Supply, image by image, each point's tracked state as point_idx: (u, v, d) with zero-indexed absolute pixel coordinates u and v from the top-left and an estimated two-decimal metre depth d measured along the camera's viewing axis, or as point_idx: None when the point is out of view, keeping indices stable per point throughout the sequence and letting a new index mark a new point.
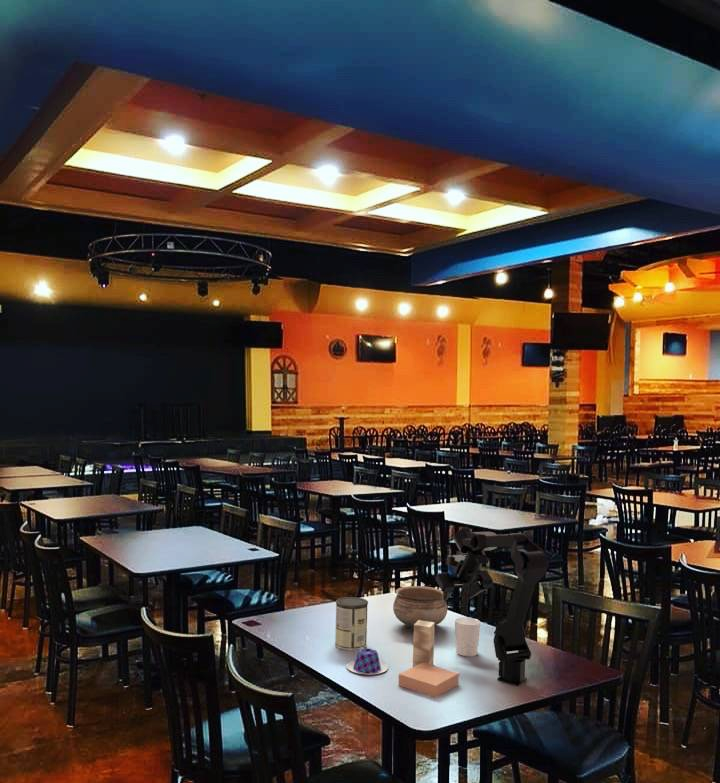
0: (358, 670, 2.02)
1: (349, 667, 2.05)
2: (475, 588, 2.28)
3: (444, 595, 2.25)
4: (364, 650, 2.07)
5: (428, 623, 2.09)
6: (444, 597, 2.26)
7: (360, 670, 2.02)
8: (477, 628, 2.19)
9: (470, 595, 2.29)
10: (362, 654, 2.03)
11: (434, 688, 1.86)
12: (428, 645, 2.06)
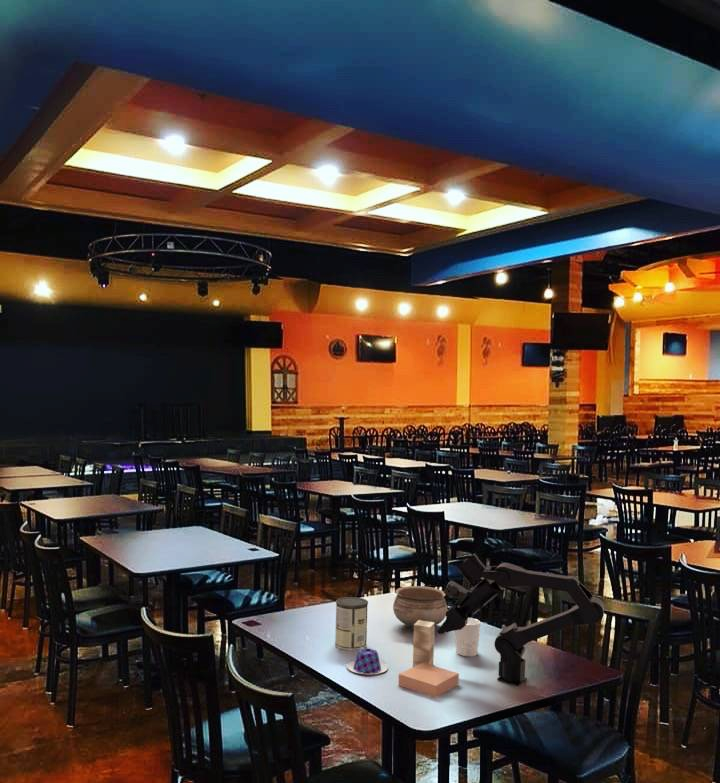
0: (358, 670, 2.02)
1: (349, 667, 2.05)
2: None
3: (443, 629, 2.02)
4: (364, 650, 2.07)
5: (428, 623, 2.09)
6: (441, 631, 2.02)
7: (360, 670, 2.02)
8: (477, 628, 2.19)
9: None
10: (362, 654, 2.03)
11: (434, 688, 1.86)
12: (428, 645, 2.06)
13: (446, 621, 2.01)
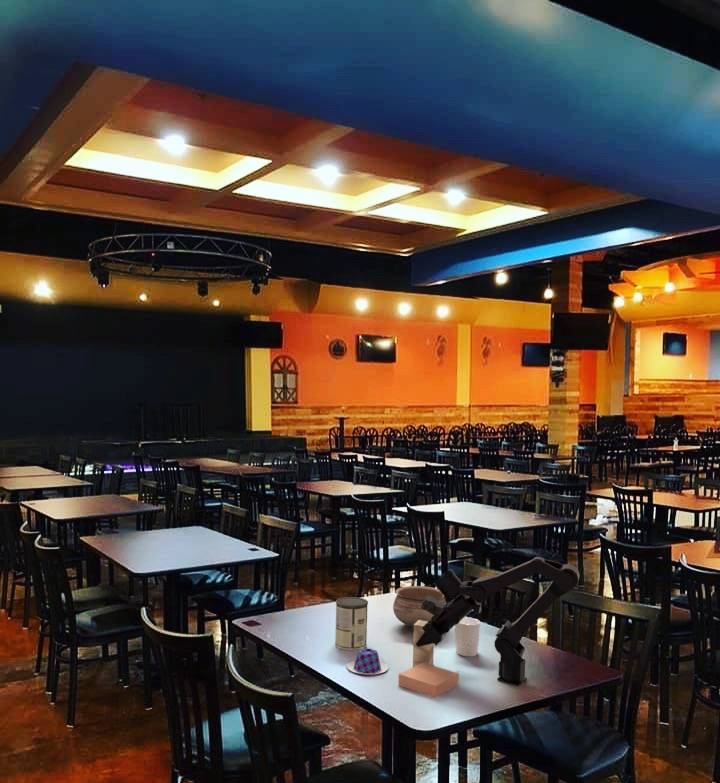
0: (358, 670, 2.03)
1: (349, 667, 2.05)
2: None
3: (422, 642, 2.06)
4: (365, 650, 2.07)
5: None
6: (420, 643, 2.06)
7: (360, 670, 2.02)
8: (477, 628, 2.19)
9: None
10: (362, 654, 2.03)
11: (434, 688, 1.86)
12: (428, 645, 2.06)
13: (424, 634, 2.05)
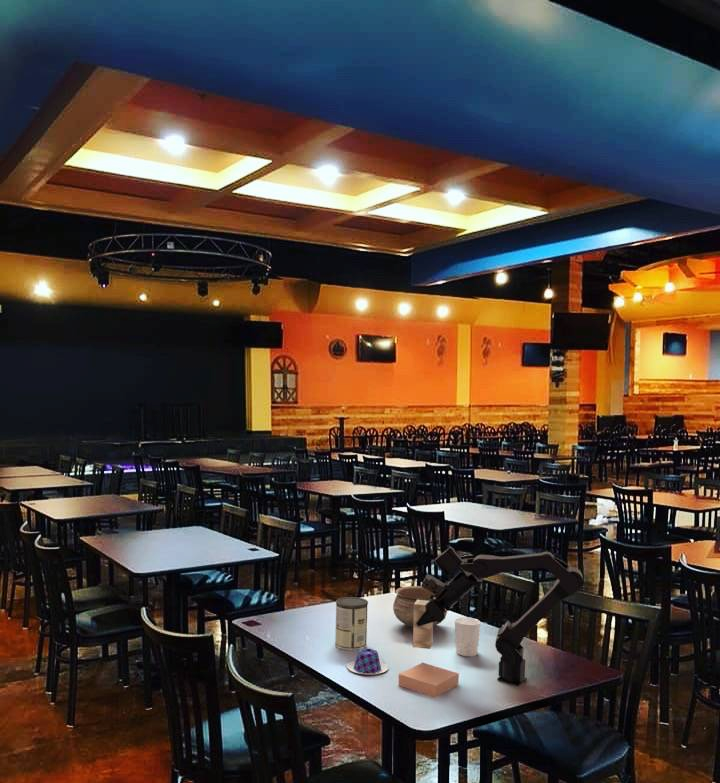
0: (357, 670, 2.03)
1: (349, 667, 2.05)
2: None
3: (423, 621, 2.03)
4: (365, 650, 2.07)
5: None
6: (421, 622, 2.03)
7: (359, 670, 2.02)
8: (477, 628, 2.19)
9: None
10: (362, 654, 2.03)
11: (434, 688, 1.86)
12: (429, 624, 2.04)
13: (426, 613, 2.02)
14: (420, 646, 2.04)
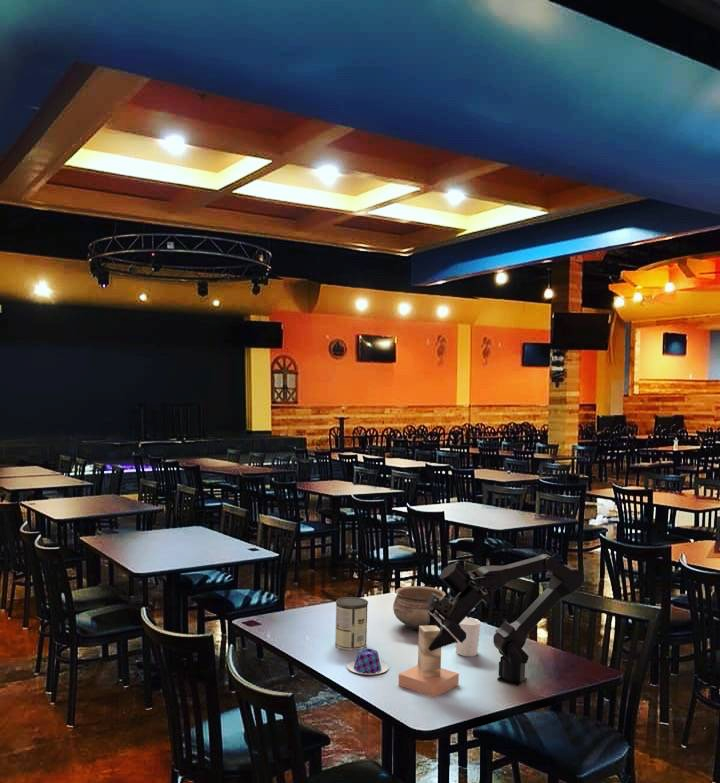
0: (357, 670, 2.03)
1: (349, 666, 2.05)
2: None
3: (437, 644, 1.90)
4: (365, 650, 2.07)
5: (433, 627, 1.96)
6: (434, 647, 1.90)
7: (359, 670, 2.02)
8: (477, 628, 2.19)
9: None
10: (362, 654, 2.03)
11: (434, 688, 1.86)
12: (439, 650, 1.93)
13: (441, 636, 1.90)
14: (430, 675, 1.92)
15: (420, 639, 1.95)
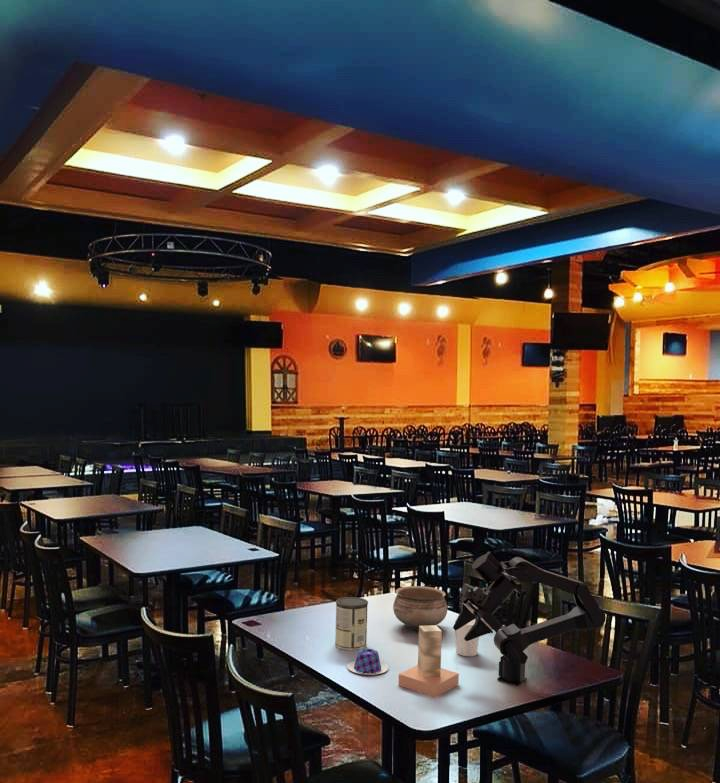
0: (357, 669, 2.03)
1: (350, 666, 2.06)
2: (467, 617, 2.03)
3: (472, 635, 1.92)
4: (366, 650, 2.07)
5: (433, 627, 1.96)
6: (470, 637, 1.92)
7: (359, 670, 2.02)
8: None
9: (459, 626, 2.02)
10: (361, 654, 2.04)
11: (434, 688, 1.86)
12: (439, 650, 1.93)
13: (476, 626, 1.92)
14: (430, 675, 1.92)
15: (420, 639, 1.95)
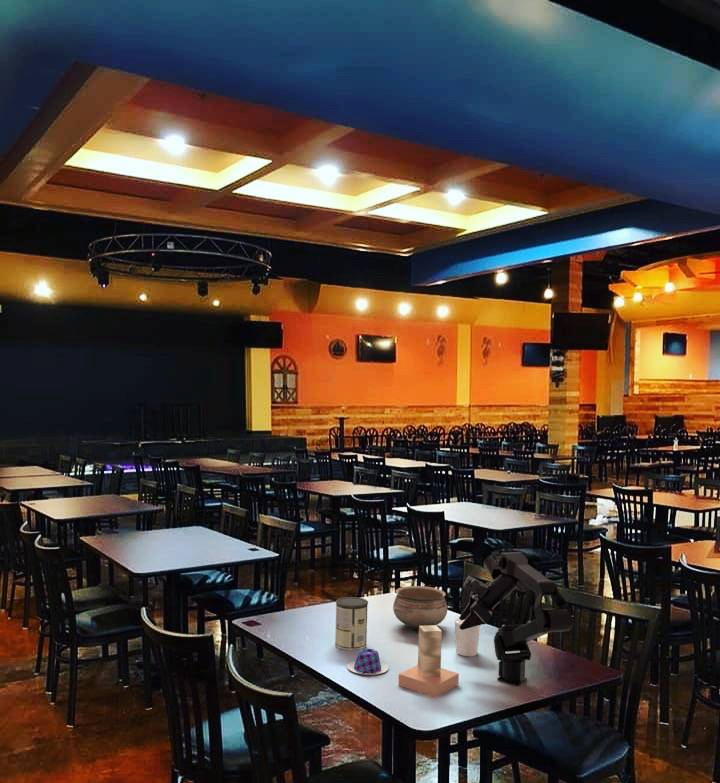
0: (357, 669, 2.03)
1: (350, 666, 2.06)
2: None
3: (466, 624, 2.01)
4: (366, 650, 2.07)
5: (433, 627, 1.96)
6: (464, 626, 2.01)
7: (359, 670, 2.02)
8: (477, 628, 2.19)
9: (465, 617, 2.11)
10: (361, 654, 2.04)
11: (434, 688, 1.86)
12: (439, 650, 1.93)
13: (470, 616, 2.00)
14: (430, 675, 1.92)
15: (420, 639, 1.95)
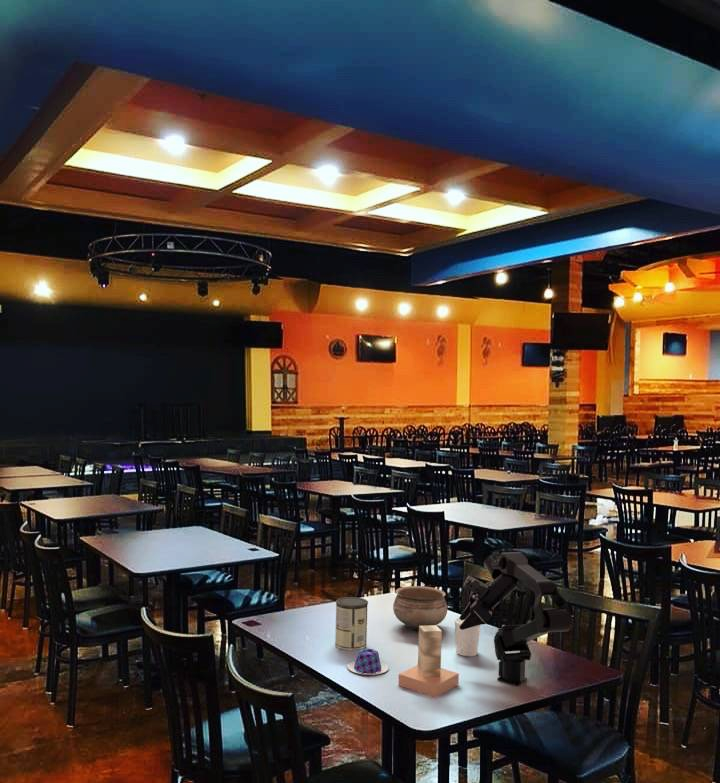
0: (357, 669, 2.03)
1: (350, 666, 2.06)
2: None
3: (466, 624, 2.01)
4: (366, 650, 2.07)
5: (433, 627, 1.96)
6: (464, 626, 2.01)
7: (358, 670, 2.02)
8: (478, 628, 2.19)
9: (465, 617, 2.11)
10: (361, 654, 2.04)
11: (434, 688, 1.86)
12: (439, 650, 1.93)
13: (470, 616, 2.00)
14: (430, 675, 1.92)
15: (420, 639, 1.95)
